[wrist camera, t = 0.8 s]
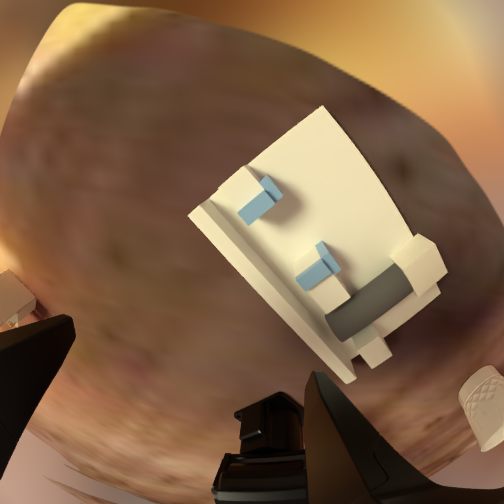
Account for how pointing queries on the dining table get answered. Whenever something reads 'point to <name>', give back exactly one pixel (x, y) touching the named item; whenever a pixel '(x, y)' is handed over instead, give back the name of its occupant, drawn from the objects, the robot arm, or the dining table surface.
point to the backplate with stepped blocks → (313, 236)
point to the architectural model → (14, 299)
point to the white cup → (484, 406)
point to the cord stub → (389, 287)
